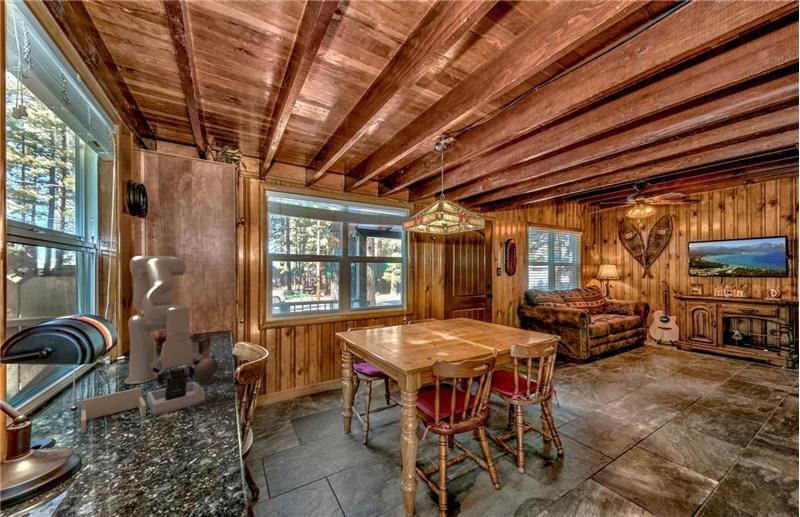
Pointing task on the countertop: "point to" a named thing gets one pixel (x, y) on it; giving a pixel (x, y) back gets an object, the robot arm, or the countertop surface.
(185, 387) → the black boxy piece
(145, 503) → the countertop surface
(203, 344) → the coffee box
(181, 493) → the countertop surface
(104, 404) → the bay
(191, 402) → the tray
